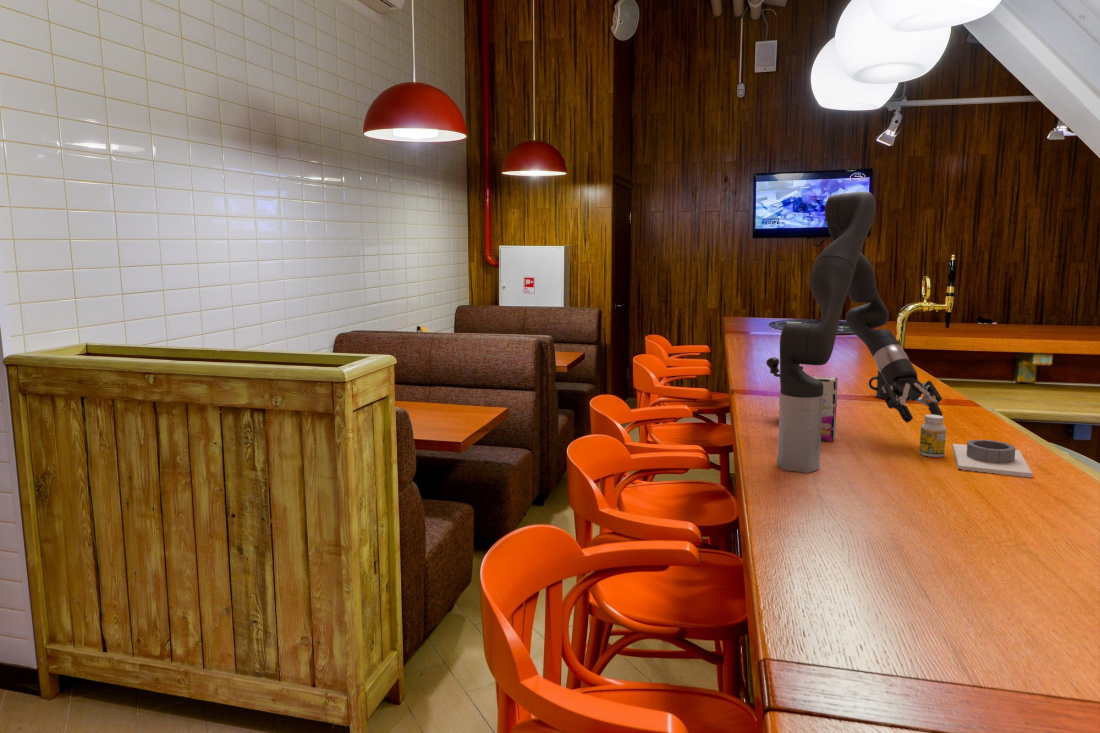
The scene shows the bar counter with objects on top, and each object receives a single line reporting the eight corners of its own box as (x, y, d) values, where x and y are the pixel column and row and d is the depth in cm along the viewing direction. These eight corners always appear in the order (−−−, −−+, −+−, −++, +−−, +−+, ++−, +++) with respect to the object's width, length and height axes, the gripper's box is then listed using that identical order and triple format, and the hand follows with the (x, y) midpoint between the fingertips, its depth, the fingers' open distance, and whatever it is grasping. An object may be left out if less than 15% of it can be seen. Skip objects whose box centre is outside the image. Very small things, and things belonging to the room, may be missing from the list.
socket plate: (1031, 477, 156) (1033, 460, 155) (958, 469, 162) (959, 452, 161) (1018, 453, 173) (1020, 437, 173) (952, 447, 179) (954, 432, 179)
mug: (866, 394, 245) (868, 367, 244) (905, 396, 241) (907, 369, 239) (868, 399, 236) (870, 372, 235) (909, 401, 232) (911, 374, 231)
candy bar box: (835, 437, 190) (838, 377, 187) (833, 442, 185) (836, 380, 183) (791, 433, 195) (794, 374, 192) (788, 437, 191) (791, 377, 188)
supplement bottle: (949, 456, 172) (952, 417, 170) (931, 458, 170) (934, 419, 169) (931, 450, 177) (934, 412, 175) (913, 452, 175) (916, 414, 174)
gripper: (878, 358, 180) (908, 413, 171) (926, 356, 183) (958, 409, 174) (863, 376, 186) (891, 429, 176) (909, 373, 189) (939, 425, 180)
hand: (924, 419), depth 175 cm, fingers open, 8 cm apart
